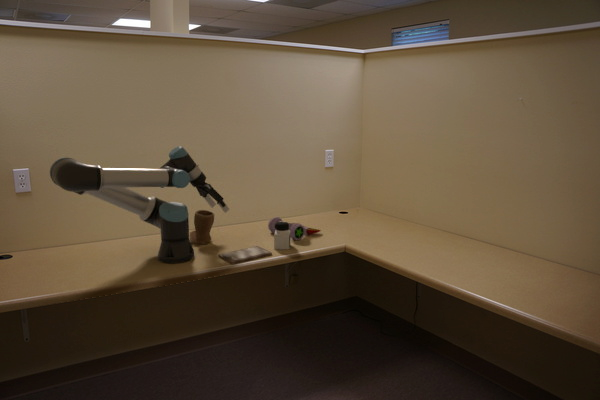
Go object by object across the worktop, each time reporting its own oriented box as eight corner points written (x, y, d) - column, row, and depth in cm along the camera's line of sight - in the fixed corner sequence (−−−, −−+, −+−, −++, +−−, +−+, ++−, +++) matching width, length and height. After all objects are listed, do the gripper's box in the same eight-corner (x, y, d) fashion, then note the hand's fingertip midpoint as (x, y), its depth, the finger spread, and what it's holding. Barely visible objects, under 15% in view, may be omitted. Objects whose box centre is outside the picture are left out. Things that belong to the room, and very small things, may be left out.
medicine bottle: (289, 249, 205) (289, 224, 203) (274, 249, 205) (273, 224, 203) (290, 244, 212) (290, 220, 210) (275, 244, 212) (275, 220, 210)
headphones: (266, 219, 229) (295, 208, 241) (268, 237, 232) (297, 225, 244) (291, 226, 215) (321, 215, 227) (293, 245, 217) (322, 233, 230)
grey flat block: (232, 264, 186) (231, 259, 186) (218, 256, 195) (218, 252, 195) (271, 254, 198) (271, 250, 198) (257, 247, 207) (257, 243, 207)
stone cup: (216, 244, 213) (215, 213, 210) (190, 246, 210) (188, 215, 207) (213, 235, 227) (212, 206, 224) (189, 237, 224) (188, 207, 221)
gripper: (213, 173, 199) (238, 207, 210) (189, 167, 218) (214, 199, 229) (201, 184, 196) (227, 218, 207) (178, 177, 216) (203, 209, 227)
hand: (220, 208), depth 218 cm, fingers open, 13 cm apart
